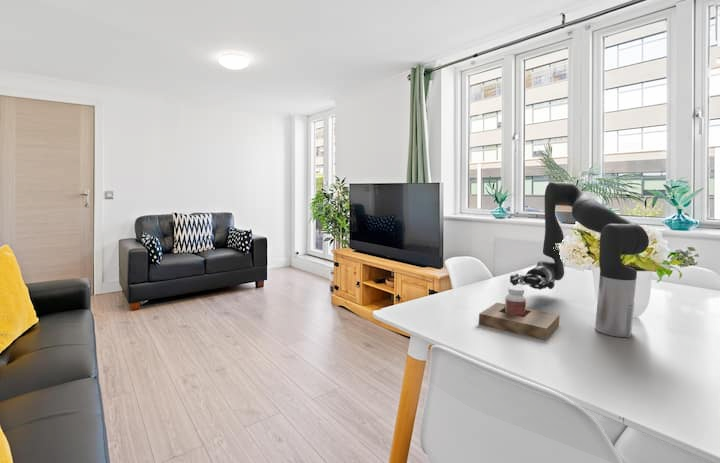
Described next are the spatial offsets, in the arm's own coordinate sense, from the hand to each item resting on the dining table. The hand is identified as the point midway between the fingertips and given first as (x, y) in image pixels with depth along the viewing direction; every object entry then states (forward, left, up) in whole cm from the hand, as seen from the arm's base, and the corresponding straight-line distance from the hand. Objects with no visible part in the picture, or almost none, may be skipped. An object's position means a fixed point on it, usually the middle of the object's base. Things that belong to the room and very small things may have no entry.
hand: (526, 284), depth 134 cm
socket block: (-2, +13, -10) cm, 17 cm away
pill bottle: (0, +11, -11) cm, 15 cm away
